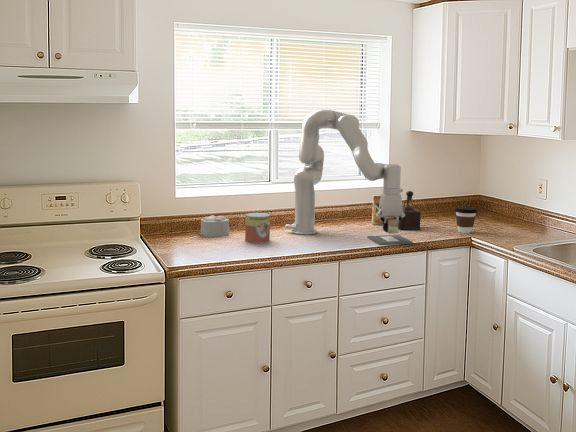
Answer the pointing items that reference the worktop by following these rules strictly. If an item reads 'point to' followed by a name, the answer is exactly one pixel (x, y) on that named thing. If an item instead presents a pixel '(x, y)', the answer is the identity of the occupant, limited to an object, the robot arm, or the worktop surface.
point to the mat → (389, 239)
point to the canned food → (257, 227)
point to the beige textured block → (392, 225)
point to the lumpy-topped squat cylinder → (214, 226)
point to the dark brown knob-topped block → (410, 216)
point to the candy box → (376, 210)
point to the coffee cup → (465, 218)
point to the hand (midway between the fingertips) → (390, 230)
